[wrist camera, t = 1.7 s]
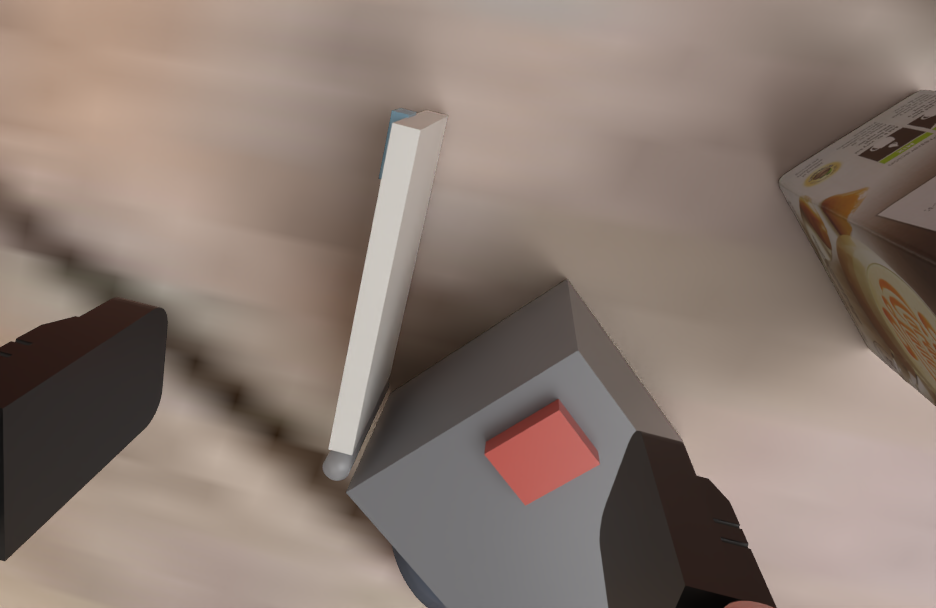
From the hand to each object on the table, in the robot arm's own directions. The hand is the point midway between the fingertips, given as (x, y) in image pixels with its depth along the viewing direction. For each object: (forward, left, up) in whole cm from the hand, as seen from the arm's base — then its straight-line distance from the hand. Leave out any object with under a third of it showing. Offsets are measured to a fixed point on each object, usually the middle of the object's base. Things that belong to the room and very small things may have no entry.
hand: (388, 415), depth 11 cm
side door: (0, +4, -18) cm, 19 cm away
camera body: (-10, +4, -19) cm, 21 cm away
